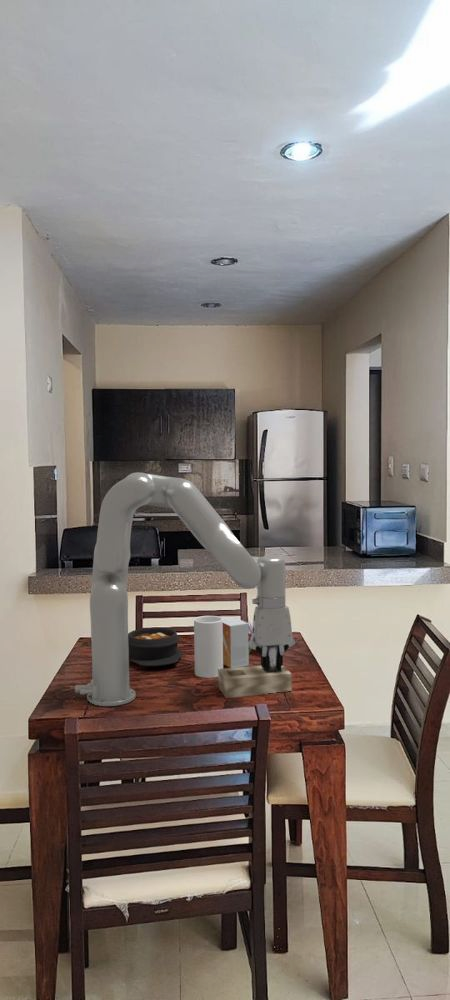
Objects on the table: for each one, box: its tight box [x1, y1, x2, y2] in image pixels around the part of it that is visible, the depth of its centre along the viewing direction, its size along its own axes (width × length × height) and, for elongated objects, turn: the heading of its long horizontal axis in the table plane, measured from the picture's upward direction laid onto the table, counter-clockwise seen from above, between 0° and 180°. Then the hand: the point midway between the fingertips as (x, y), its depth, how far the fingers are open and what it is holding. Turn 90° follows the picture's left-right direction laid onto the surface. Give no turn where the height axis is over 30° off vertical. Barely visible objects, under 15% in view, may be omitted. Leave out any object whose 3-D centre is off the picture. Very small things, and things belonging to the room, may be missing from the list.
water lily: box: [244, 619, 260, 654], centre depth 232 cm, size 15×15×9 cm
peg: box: [266, 645, 278, 673], centre depth 198 cm, size 3×3×10 cm
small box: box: [222, 617, 250, 668], centre depth 221 cm, size 8×6×13 cm
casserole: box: [128, 627, 184, 667], centre depth 226 cm, size 25×19×8 cm
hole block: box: [217, 665, 293, 699], centre depth 198 cm, size 18×9×5 cm, turn 103°
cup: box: [193, 615, 224, 679], centre depth 212 cm, size 8×8×16 cm
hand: (271, 668), depth 199 cm, fingers closed on peg, 3 cm apart
